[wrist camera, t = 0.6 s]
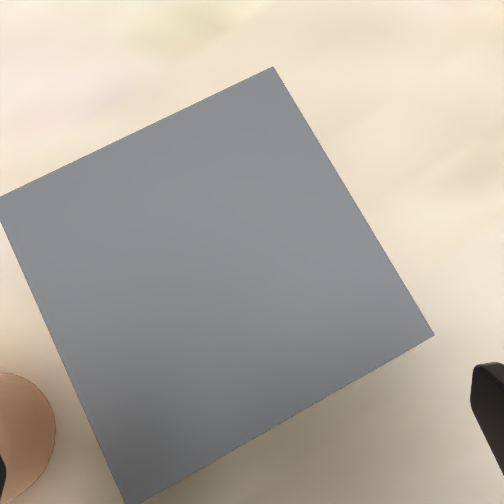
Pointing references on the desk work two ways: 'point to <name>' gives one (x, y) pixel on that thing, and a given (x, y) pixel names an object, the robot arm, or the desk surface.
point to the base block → (206, 281)
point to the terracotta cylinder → (23, 433)
